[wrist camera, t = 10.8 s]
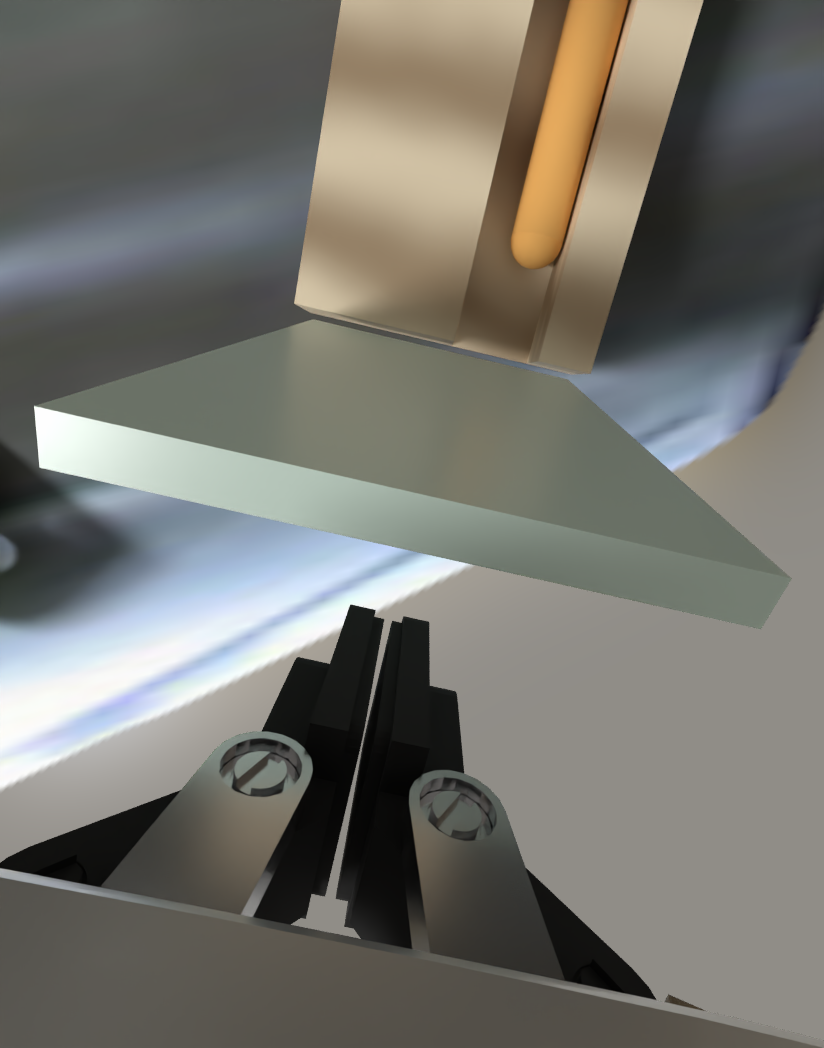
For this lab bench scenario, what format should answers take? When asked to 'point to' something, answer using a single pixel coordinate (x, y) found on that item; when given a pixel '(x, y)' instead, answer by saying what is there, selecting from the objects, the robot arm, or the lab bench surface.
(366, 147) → the base
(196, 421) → the plate
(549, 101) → the rod
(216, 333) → the lab bench surface
